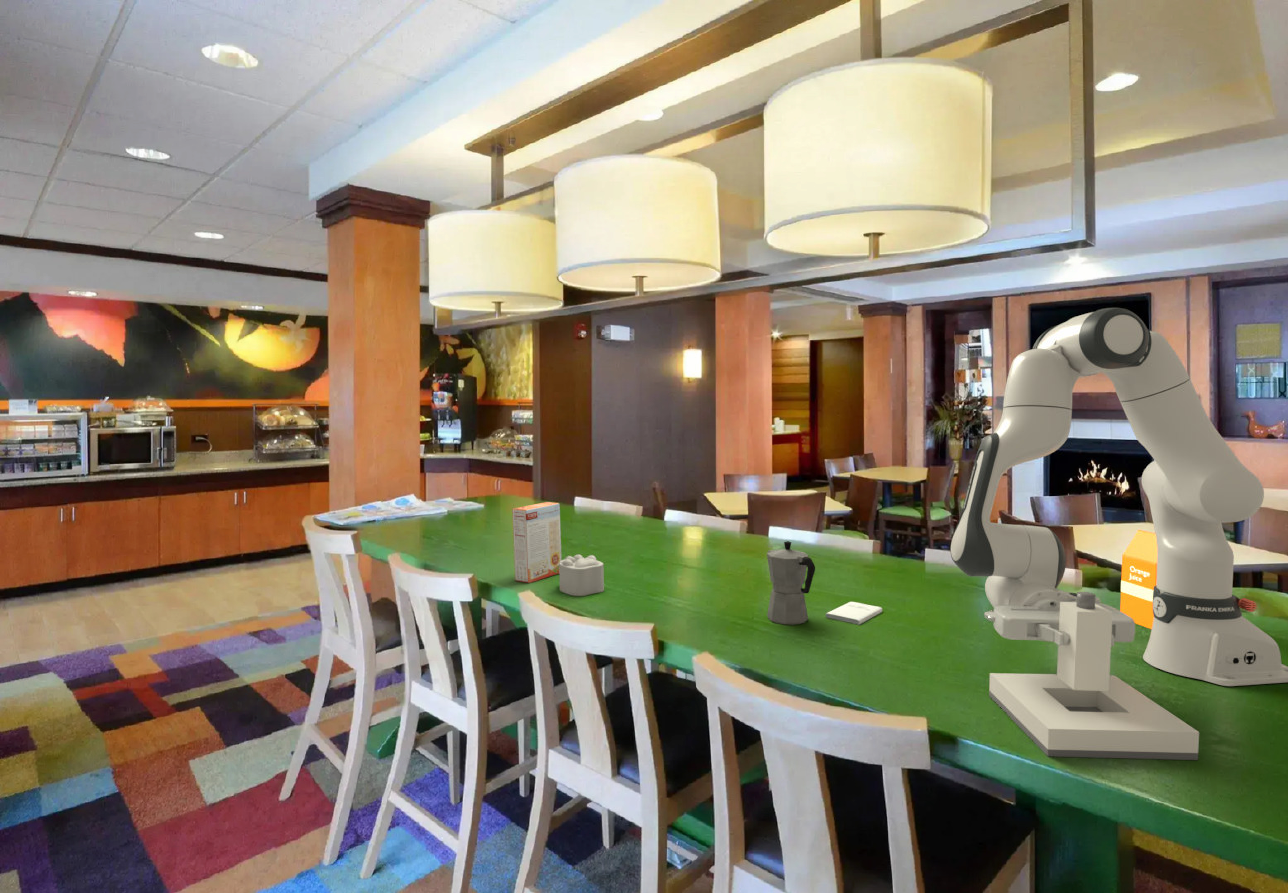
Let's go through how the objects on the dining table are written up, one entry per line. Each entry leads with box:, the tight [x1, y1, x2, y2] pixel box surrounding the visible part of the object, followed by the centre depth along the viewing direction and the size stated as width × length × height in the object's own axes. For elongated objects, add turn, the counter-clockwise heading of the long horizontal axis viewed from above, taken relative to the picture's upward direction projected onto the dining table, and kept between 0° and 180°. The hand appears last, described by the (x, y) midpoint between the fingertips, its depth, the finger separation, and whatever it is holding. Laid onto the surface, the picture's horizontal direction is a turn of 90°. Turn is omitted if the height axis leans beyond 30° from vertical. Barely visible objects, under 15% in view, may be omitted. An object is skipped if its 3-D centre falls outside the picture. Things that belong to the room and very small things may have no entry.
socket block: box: [988, 672, 1200, 761], centre depth 108 cm, size 20×20×4 cm
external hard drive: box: [825, 601, 883, 625], centre depth 164 cm, size 2×8×12 cm
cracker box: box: [511, 501, 563, 584], centre depth 202 cm, size 14×6×21 cm, turn 144°
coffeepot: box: [766, 540, 816, 626], centre depth 160 cm, size 15×9×18 cm, turn 28°
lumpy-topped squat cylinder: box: [558, 554, 605, 597], centre depth 190 cm, size 10×13×9 cm
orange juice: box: [1119, 529, 1157, 630], centre depth 155 cm, size 8×9×20 cm
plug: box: [1056, 591, 1112, 691], centre depth 107 cm, size 5×5×14 cm
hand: (1087, 641), depth 106 cm, fingers closed on plug, 5 cm apart
